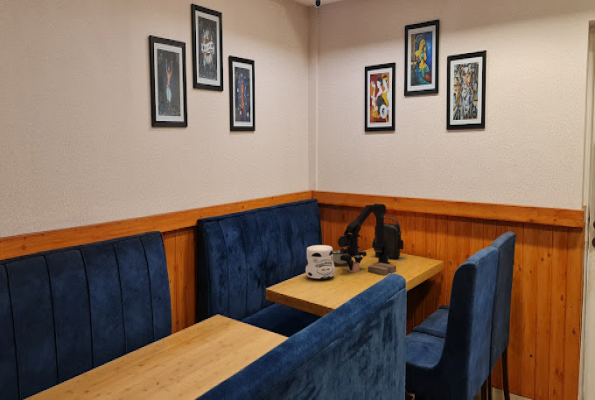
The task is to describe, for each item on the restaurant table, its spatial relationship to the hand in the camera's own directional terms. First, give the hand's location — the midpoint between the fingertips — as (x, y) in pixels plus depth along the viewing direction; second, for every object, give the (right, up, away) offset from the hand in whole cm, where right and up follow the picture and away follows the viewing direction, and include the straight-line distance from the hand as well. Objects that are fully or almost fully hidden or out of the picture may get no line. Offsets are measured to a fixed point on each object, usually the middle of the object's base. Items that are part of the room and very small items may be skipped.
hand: (353, 269), depth 288 cm
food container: (-6, 0, +13) cm, 15 cm away
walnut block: (+17, -1, -3) cm, 17 cm away
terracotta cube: (0, -1, 0) cm, 1 cm away
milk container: (-21, -3, -11) cm, 24 cm away
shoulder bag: (+28, +3, +30) cm, 41 cm away
